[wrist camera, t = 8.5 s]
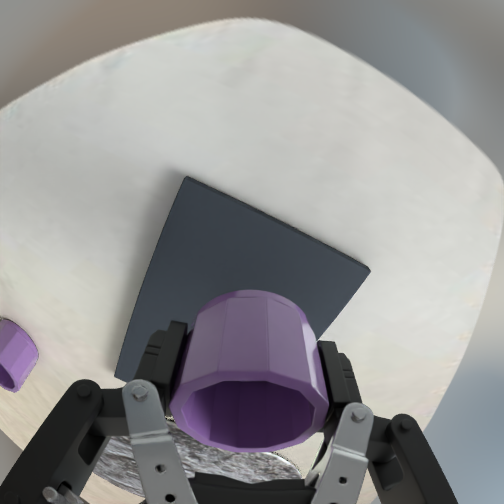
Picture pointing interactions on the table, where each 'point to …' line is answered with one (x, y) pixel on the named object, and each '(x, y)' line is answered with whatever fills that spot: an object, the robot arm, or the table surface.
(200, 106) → the table surface
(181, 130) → the table surface
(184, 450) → the ancient coin
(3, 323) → the purple faceted cup
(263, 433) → the purple hollow cylinder
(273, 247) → the mat
